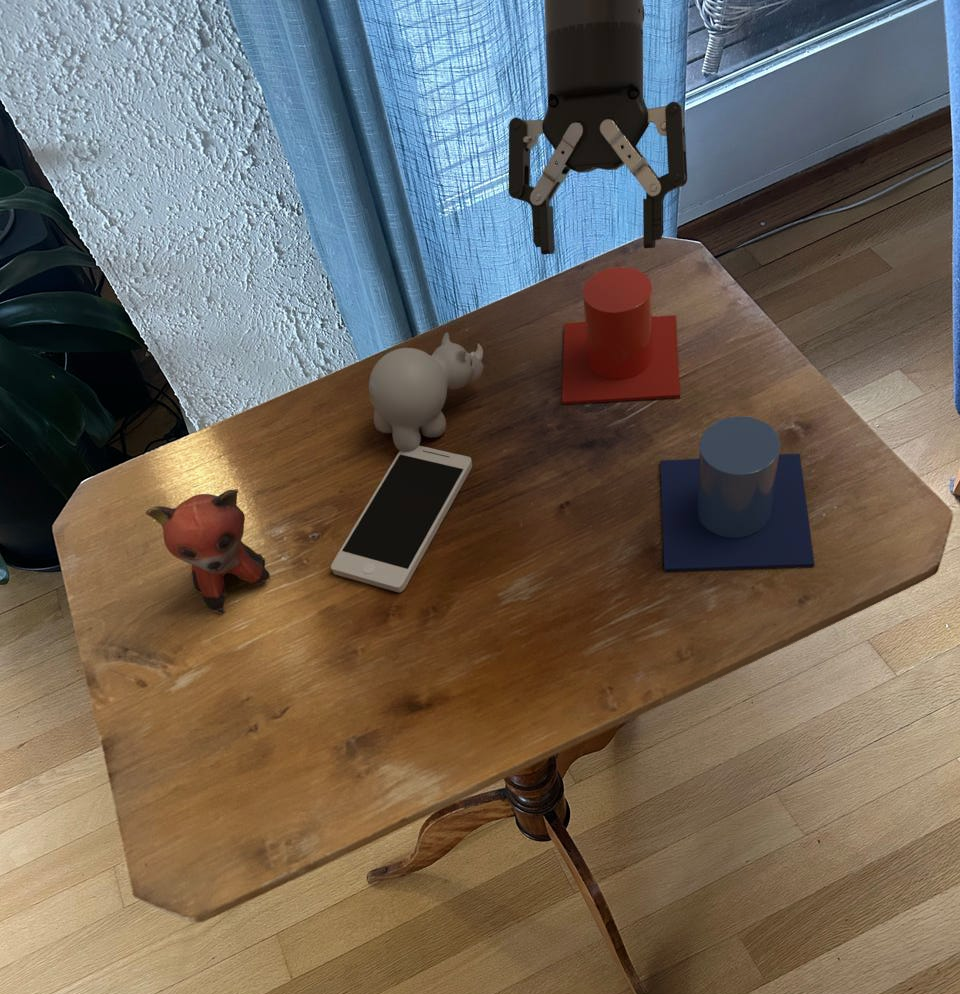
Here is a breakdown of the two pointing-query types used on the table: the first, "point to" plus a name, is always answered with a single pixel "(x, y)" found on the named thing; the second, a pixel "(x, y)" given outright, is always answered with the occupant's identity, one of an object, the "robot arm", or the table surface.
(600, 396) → the red mat
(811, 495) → the table surface
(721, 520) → the grey-blue cylinder
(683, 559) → the blue mat
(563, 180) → the robot arm
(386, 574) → the smartphone
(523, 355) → the table surface
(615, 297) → the red cylinder
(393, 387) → the toy rhinoceros
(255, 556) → the stuffed fox
